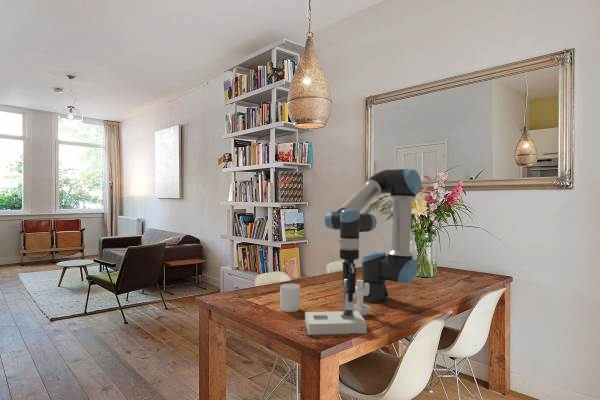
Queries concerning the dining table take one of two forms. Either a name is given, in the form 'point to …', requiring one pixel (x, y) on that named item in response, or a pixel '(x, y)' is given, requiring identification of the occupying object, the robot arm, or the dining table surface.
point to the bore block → (334, 323)
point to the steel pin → (345, 312)
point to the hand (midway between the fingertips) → (348, 307)
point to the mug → (289, 297)
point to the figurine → (361, 298)
